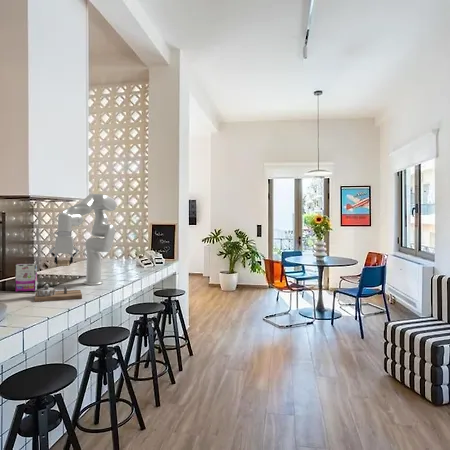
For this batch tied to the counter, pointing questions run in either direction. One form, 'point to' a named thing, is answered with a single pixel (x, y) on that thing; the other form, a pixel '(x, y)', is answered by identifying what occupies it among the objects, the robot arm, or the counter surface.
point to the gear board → (56, 294)
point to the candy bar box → (25, 277)
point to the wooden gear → (63, 262)
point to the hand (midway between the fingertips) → (63, 263)
